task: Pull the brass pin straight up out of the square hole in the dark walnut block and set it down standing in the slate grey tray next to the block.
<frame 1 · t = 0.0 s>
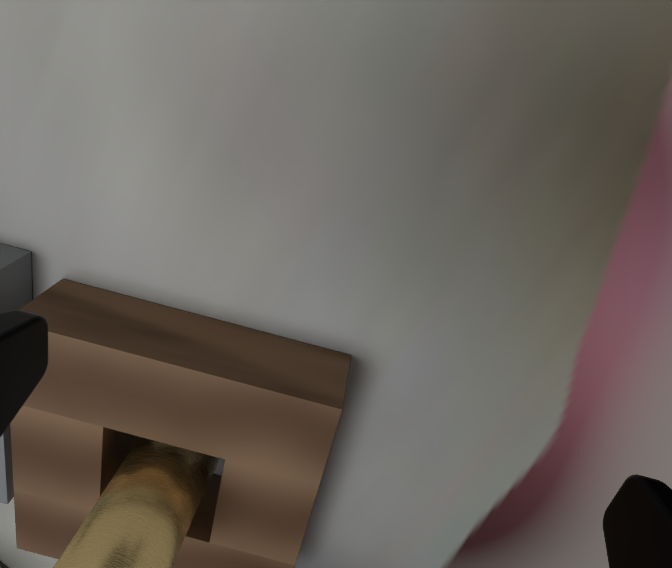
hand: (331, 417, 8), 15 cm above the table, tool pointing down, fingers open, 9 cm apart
pin: (149, 504, 23), in the hitch block
hitch block: (190, 429, 28), on the table
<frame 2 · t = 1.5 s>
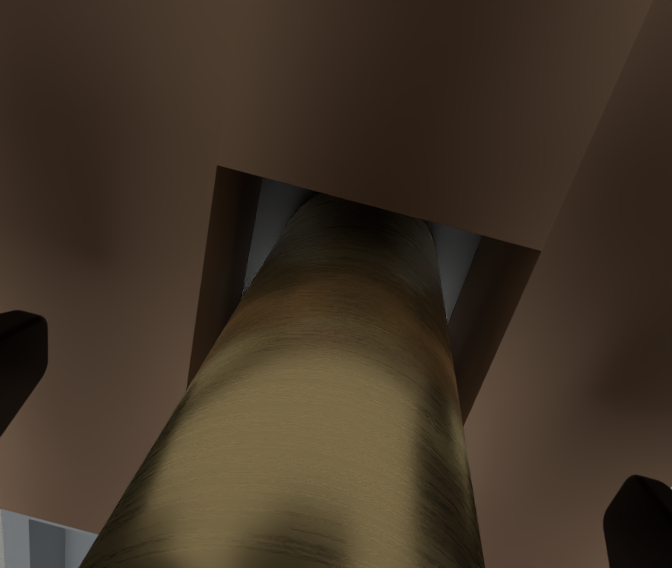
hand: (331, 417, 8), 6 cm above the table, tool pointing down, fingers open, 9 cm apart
pin: (334, 375, 9), in the hitch block
hitch block: (356, 262, 14), on the table
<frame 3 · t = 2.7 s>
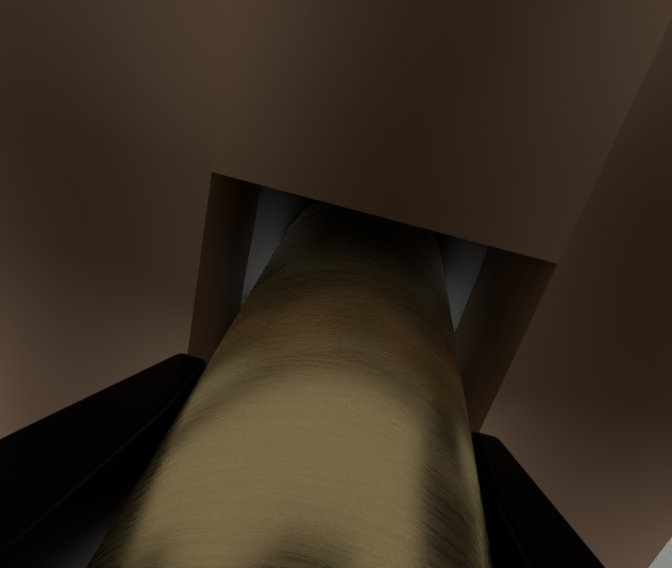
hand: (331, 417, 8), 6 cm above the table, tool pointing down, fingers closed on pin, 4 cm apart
pin: (335, 396, 8), in the hitch block, touching gripper
hitch block: (359, 271, 13), on the table
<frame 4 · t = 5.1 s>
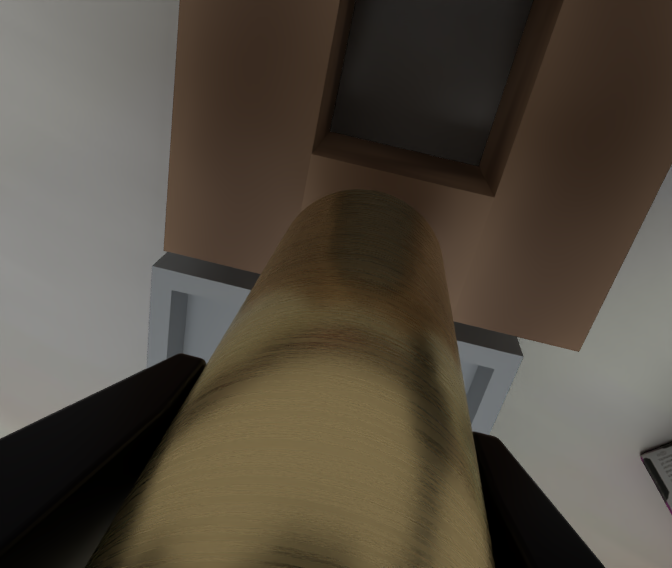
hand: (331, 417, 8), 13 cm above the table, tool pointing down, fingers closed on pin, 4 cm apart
pin: (336, 394, 8), point 13 cm above the table, touching gripper
tray: (310, 421, 25), on the table
hitch block: (425, 68, 18), on the table
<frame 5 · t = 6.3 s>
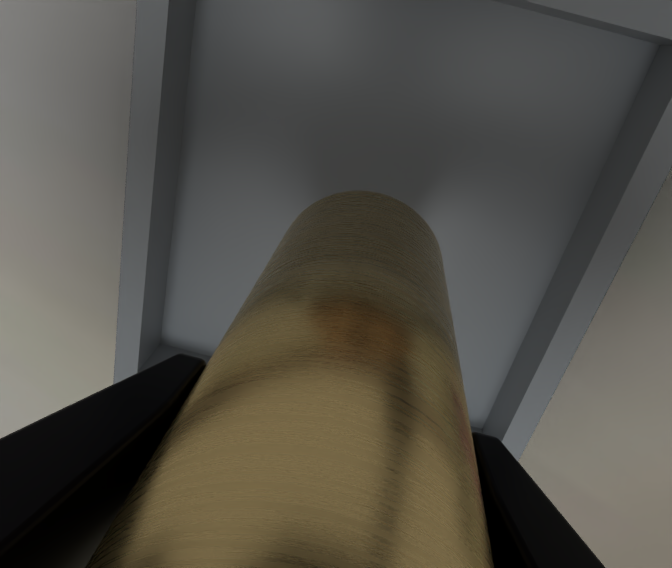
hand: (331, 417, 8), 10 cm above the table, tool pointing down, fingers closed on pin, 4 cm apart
pin: (335, 396, 8), point 10 cm above the table, touching gripper
tray: (368, 214, 17), on the table
when the fingers open (8 cm above the table, at t = 7.5 s): pin drops 1 cm, resting on tray.
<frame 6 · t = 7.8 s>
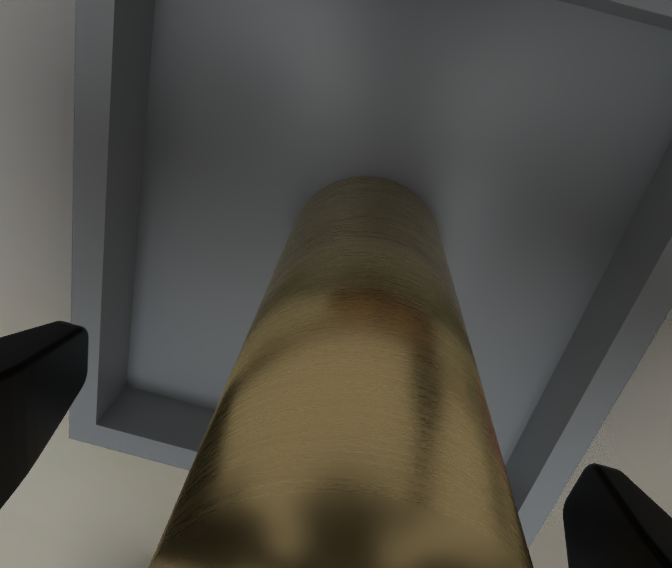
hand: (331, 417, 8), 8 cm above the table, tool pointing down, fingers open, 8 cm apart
pin: (357, 355, 10), in the tray, point 6 cm above the table
tray: (364, 242, 15), on the table
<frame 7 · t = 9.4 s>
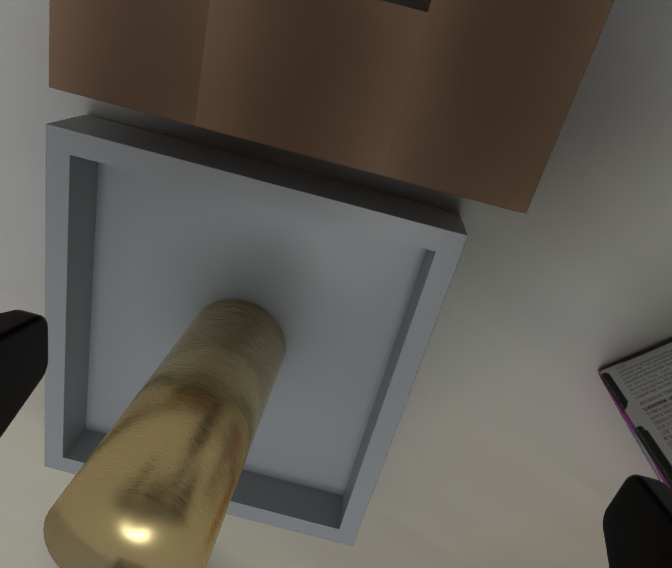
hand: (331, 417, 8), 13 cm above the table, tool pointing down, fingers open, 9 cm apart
pin: (195, 419, 17), in the tray, point 6 cm above the table
tray: (240, 335, 23), on the table
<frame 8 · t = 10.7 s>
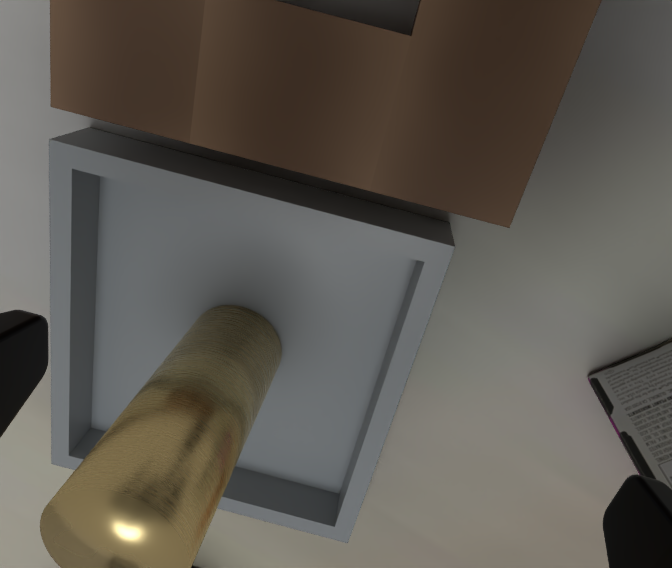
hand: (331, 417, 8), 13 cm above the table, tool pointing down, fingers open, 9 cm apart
pin: (190, 422, 18), in the tray, point 6 cm above the table
tray: (239, 339, 23), on the table
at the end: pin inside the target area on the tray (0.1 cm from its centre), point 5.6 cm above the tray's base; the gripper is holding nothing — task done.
